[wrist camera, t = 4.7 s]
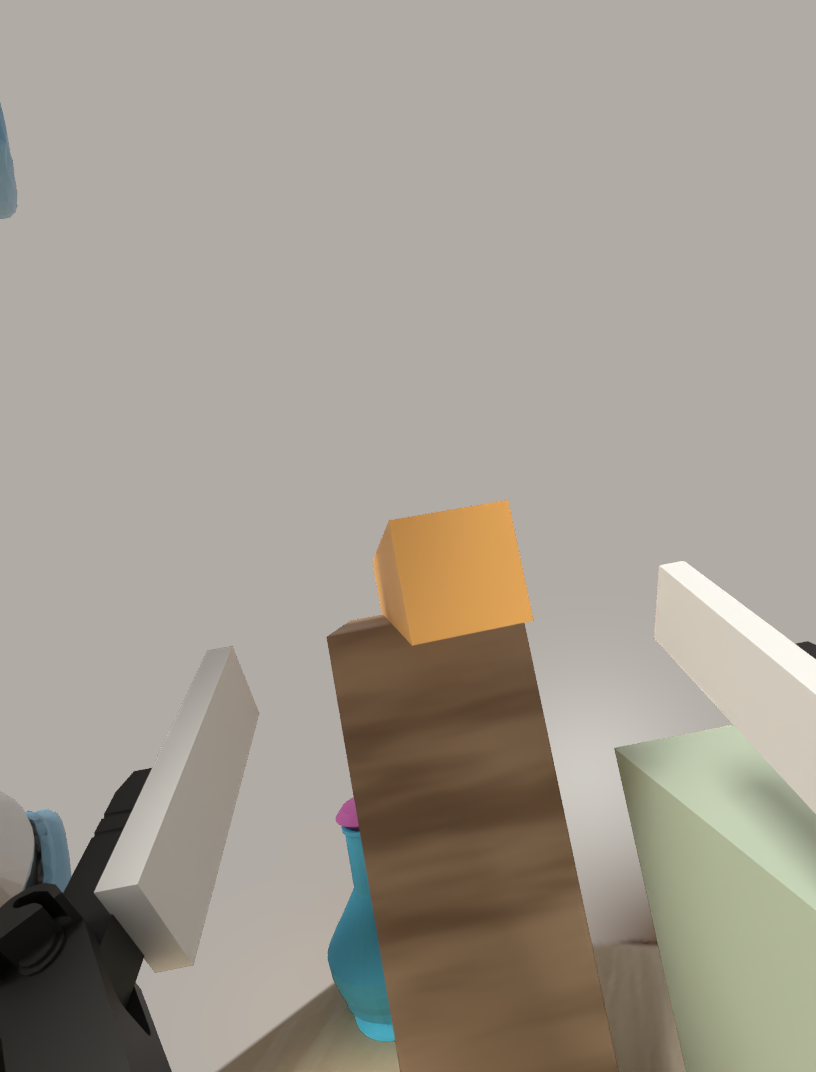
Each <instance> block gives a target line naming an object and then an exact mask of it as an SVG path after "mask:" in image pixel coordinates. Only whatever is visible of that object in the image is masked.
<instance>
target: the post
mask: <svg viewBox="0 0 816 1072" xmlns="http://www.w3.org/2000/svg"><path fill="white" fill-rule="evenodd" d="M327 642H328V648H329V654H330V659H331V665H332V671H333V677H334V683H335V689H336V695H337V701H338V707H339V713H340V719H341V724H342V730H343V736H344V742H345V748H346V754H347V759H348V766H349V771H350V777H351V783H352V789H353V795H354V801H355V807H356V813H357V819H358V825H359V830H360V836H361V842H362V848H363V854H364V860H365V866H366V872H367V878H368V883H369V889H370V895H371V901H372V907H373V913H374V919H375V925H376V931H377V936H378V942H379V948H380V954H381V960H382V966H383V972H384V978H385V984H386V989H387V995H388V1001H389V1007H390V1013H391V1019H392V1025H393V1031H394V1037H395V1043H396V1048H397V1054H398V1060H399V1066H400V1072H618V1067H617V1062H616V1057H615V1053H614V1048H613V1043H612V1038H611V1033H610V1029H609V1024H608V1019H607V1014H606V1010H605V1005H604V1000H603V995H602V991H601V986H600V981H599V976H598V972H597V967H596V962H595V957H594V952H593V948H592V943H591V938H590V933H589V929H588V924H587V919H586V914H585V910H584V905H583V900H582V895H581V891H580V886H579V882H578V877H577V871H576V867H575V862H574V857H573V853H572V848H571V843H570V838H569V833H568V829H567V824H566V819H565V814H564V809H563V805H562V800H561V796H560V791H559V786H558V781H557V776H556V771H555V767H554V762H553V757H552V753H551V747H550V743H549V738H548V733H547V728H546V724H545V719H544V715H543V709H542V705H541V700H540V696H539V691H538V685H537V681H536V676H535V671H534V666H533V662H532V657H531V652H530V647H529V643H528V638H527V633H526V629H525V624H524V623H520V624H515V625H510V626H505V627H500V628H495V629H491V630H486V631H481V632H476V633H471V634H466V635H461V636H457V637H452V638H447V639H442V640H437V641H432V642H427V643H423V644H418V645H413V646H412V645H411V644H410V643H409V642H408V641H407V640H406V638H405V637H404V636H403V635H402V634H401V633H400V632H399V631H398V630H397V629H396V628H395V627H394V626H393V625H392V623H391V622H390V621H389V620H388V619H387V618H386V617H385V616H384V615H378V616H373V617H368V618H363V619H357V620H353V621H350V622H348V623H347V624H345V625H343V626H342V627H341V628H339V629H338V630H336V631H335V632H333V633H332V634H330V635H329V636H327Z"/></svg>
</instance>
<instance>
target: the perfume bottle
mask: <svg viewBox="0 0 816 1072" xmlns="http://www.w3.org/2000/svg"><path fill="white" fill-rule="evenodd" d="M336 822H337V823H338V824H339V825H341V826H342V831H343V833H344V834H345V836H346V841H347V847H348V854H349V859H350V865H351V872H352V878H353V884H354V889H353V892H352V894H351V896H350V899H349V901H348V903H347V906H346V908H345V911H344V913H343V915H342V917H341V919H340V921H339V923H338V925H337V927H336V930H335V932H334V934H333V937H332V939H331V942H330V945H329V949H328V961H329V966H330V969H331V973H332V977H333V980H334V982H335V984H336V986H337V988H338V990H339V992H340V993H341V995H342V996H343V998H344V999H345V1000H346V1002H347V1005H348V1007H349V1009H350V1010H351V1012H352V1013H353V1014H354V1015H355V1020H356V1023H357V1026H358V1027H359V1029H360V1030H361V1032H363V1033H364V1034H365V1035H366V1036H367V1037H369V1038H371V1039H374V1040H377V1041H395V1037H394V1031H393V1025H392V1019H391V1013H390V1007H389V1001H388V995H387V989H386V984H385V978H384V972H383V966H382V960H381V954H380V948H379V942H378V936H377V931H376V925H375V919H374V913H373V907H372V901H371V895H370V889H369V883H368V878H367V872H366V866H365V860H364V854H363V848H362V842H361V836H360V830H359V825H358V819H357V813H356V807H355V801H354V798H352V799H350V800H348V801H347V802H346V803H345V804H344V805H343V806H342V808H341V809H340V811H339V813H338V814H337V816H336Z"/></svg>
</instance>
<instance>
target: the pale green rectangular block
mask: <svg viewBox="0 0 816 1072" xmlns="http://www.w3.org/2000/svg"><path fill="white" fill-rule="evenodd" d="M615 754H616V758H617V763H618V767H619V772H620V776H621V781H622V785H623V790H624V794H625V798H626V803H627V808H628V812H629V817H630V821H631V826H632V830H633V835H634V839H635V844H636V848H637V853H638V857H639V862H640V866H641V871H642V875H643V880H644V884H645V889H646V893H647V898H648V902H649V906H650V911H651V916H652V920H653V924H654V929H655V934H656V938H657V943H658V947H659V952H660V956H661V961H662V965H663V970H664V974H665V979H666V983H667V988H668V992H669V997H670V1001H671V1006H672V1010H673V1015H674V1019H675V1024H676V1028H677V1033H678V1037H679V1042H680V1046H681V1051H682V1055H683V1060H684V1064H685V1069H686V1072H816V814H815V813H814V812H813V811H812V810H811V809H810V808H809V806H808V805H807V804H806V803H805V802H804V801H803V800H802V799H801V798H800V797H799V796H798V795H797V793H796V792H795V791H794V790H793V789H792V788H791V787H790V786H789V785H788V784H787V783H786V781H785V780H784V779H783V778H782V777H781V776H780V775H779V774H778V773H777V772H776V771H775V769H774V768H773V767H772V766H771V765H770V764H769V763H768V762H767V761H766V760H765V759H764V757H763V756H762V755H761V754H760V753H759V752H758V751H757V750H756V749H755V748H754V747H753V746H752V744H751V743H750V742H749V741H748V740H747V739H746V738H745V737H744V736H743V735H742V734H741V732H740V731H739V730H738V729H737V728H736V727H735V726H734V725H728V726H724V727H718V728H713V729H708V730H703V731H698V732H693V733H688V734H683V735H678V736H673V737H668V738H663V739H658V740H653V741H648V742H643V743H638V744H632V745H627V746H623V747H617V748H615Z"/></svg>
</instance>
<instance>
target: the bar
mask: <svg viewBox="0 0 816 1072" xmlns="http://www.w3.org/2000/svg"><path fill="white" fill-rule="evenodd" d="M373 568H374V573H375V579H376V584H377V589H378V595H379V601H380V606H381V612H382V614H383V615H384V616H385V617H386V618H387V619H388V620H389V621H390V622H391V623H392V625H393V626H394V627H395V628H396V629H397V630H398V631H399V632H400V633H401V634H402V635H403V636H404V637H405V638H406V640H407V641H408V642H409V643H410V644H411V645H412V646H413V645H418V644H423V643H427V642H432V641H437V640H442V639H447V638H452V637H457V636H461V635H466V634H471V633H476V632H481V631H486V630H491V629H495V628H500V627H505V626H510V625H515V624H520V623H525V622H529V621H533V616H532V611H531V606H530V601H529V596H528V592H527V587H526V582H525V578H524V573H523V568H522V563H521V559H520V554H519V549H518V545H517V540H516V535H515V530H514V526H513V521H512V517H511V512H510V507H509V502H508V500H504V501H499V502H494V503H488V504H481V505H476V506H470V507H464V508H459V509H453V510H447V511H442V512H436V513H430V514H424V515H418V516H413V517H407V518H401V519H395V520H389V522H388V524H387V527H386V529H385V532H384V534H383V537H382V539H381V542H380V544H379V547H378V549H377V552H376V554H375V557H374V559H373Z"/></svg>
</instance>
